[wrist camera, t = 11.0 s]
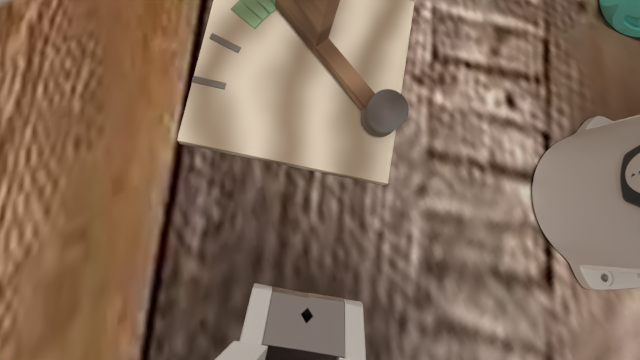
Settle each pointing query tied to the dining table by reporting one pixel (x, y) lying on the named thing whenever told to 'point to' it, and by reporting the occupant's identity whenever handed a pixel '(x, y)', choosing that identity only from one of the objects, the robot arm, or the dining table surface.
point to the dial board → (295, 87)
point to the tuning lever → (344, 65)
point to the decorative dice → (622, 15)
